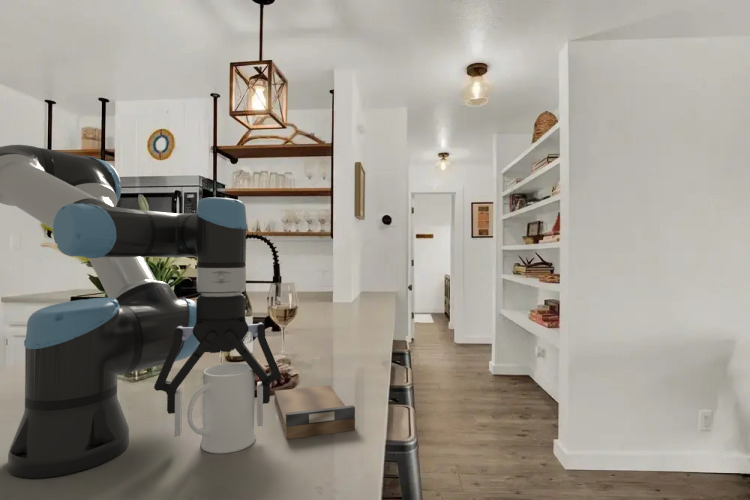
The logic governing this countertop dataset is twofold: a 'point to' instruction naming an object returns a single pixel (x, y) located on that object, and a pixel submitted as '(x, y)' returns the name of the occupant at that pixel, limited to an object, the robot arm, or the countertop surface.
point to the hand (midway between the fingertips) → (220, 427)
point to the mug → (226, 408)
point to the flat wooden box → (313, 412)
